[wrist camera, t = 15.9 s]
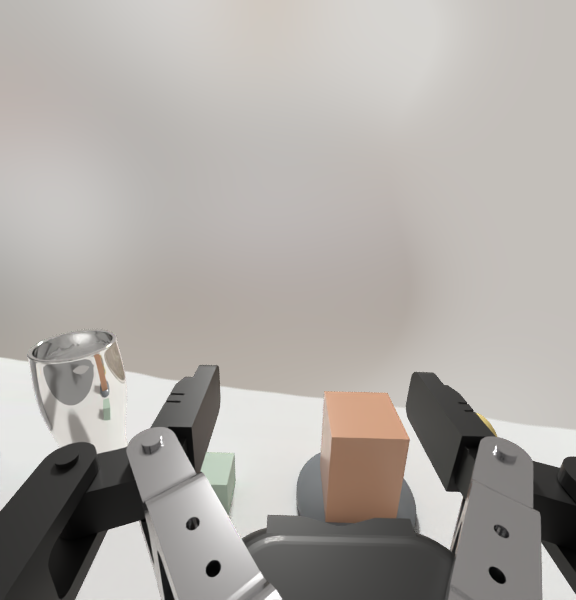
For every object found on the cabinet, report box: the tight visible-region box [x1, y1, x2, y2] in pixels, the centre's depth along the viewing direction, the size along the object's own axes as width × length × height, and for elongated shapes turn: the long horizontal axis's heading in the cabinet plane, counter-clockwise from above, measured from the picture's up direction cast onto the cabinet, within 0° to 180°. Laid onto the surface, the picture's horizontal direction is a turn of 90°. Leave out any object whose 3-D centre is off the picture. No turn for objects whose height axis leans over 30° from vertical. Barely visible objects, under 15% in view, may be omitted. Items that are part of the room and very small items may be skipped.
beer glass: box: [27, 329, 128, 454], centre depth 30 cm, size 7×7×15 cm
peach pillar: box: [320, 391, 410, 523], centre depth 28 cm, size 6×6×9 cm
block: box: [200, 452, 236, 515], centre depth 29 cm, size 4×4×4 cm
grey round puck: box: [296, 452, 416, 528], centre depth 30 cm, size 11×11×1 cm
